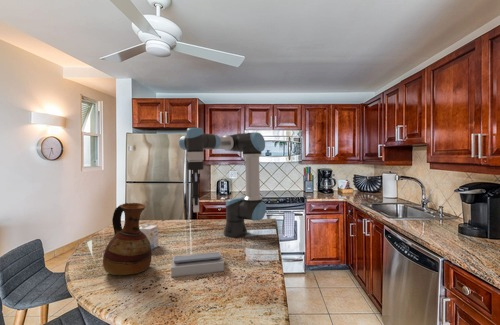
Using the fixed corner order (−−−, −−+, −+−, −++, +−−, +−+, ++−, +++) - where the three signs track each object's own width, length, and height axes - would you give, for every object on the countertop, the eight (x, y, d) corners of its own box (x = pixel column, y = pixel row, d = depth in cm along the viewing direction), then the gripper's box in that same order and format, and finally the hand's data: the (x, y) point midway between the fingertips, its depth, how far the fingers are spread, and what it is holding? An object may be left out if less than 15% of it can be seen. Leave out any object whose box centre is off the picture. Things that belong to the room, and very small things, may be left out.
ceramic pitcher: (129, 284, 107) (127, 208, 106) (91, 277, 114) (89, 206, 113) (161, 265, 125) (160, 201, 125) (127, 260, 132) (126, 199, 132)
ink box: (150, 250, 146) (149, 226, 145) (136, 249, 147) (135, 225, 147) (158, 245, 154) (158, 222, 154) (145, 244, 156) (144, 221, 155)
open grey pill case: (220, 259, 131) (220, 251, 131) (224, 271, 117) (223, 262, 117) (173, 264, 126) (172, 256, 126) (171, 277, 112) (171, 267, 112)
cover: (218, 254, 127) (218, 252, 127) (220, 258, 119) (220, 256, 119) (174, 258, 122) (174, 256, 123) (173, 263, 115) (173, 260, 115)
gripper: (187, 161, 131) (187, 209, 131) (187, 161, 118) (188, 215, 119) (202, 161, 133) (203, 208, 133) (204, 161, 120) (205, 214, 120)
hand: (196, 211), depth 126 cm, fingers closed
